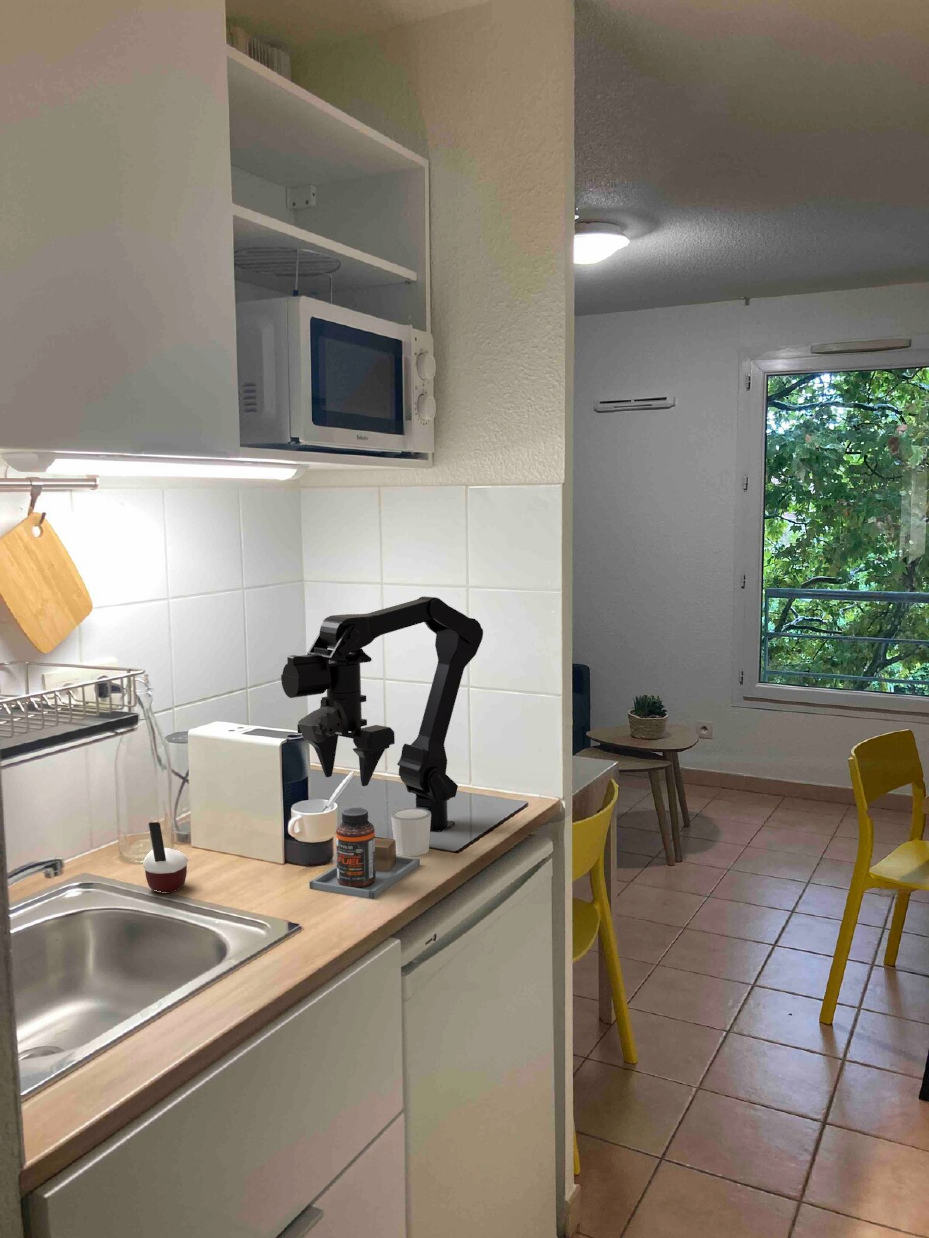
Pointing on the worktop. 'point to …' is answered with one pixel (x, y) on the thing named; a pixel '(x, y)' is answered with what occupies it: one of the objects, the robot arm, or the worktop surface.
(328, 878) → the tray
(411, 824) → the white cup
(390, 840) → the walnut block
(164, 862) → the cocoa
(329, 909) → the worktop surface
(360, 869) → the supplement bottle
